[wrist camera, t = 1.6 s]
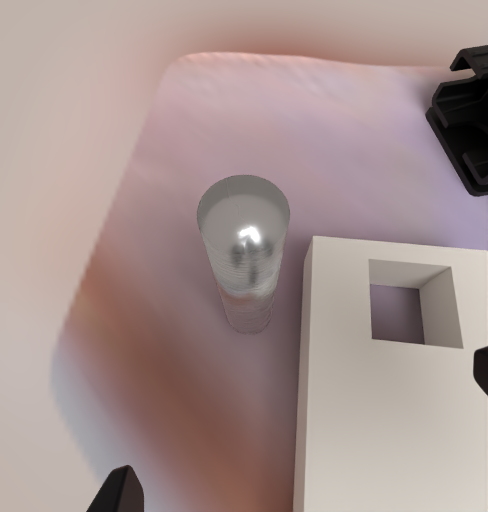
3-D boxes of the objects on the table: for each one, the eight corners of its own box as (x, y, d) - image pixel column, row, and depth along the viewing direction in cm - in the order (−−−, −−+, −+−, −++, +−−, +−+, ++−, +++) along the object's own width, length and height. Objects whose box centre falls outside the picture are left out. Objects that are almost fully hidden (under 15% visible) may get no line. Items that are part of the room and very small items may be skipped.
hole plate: (526, 637, 15) (610, 710, 12) (289, 598, 16) (299, 654, 13) (465, 276, 23) (505, 252, 19) (303, 261, 23) (313, 235, 20)
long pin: (269, 336, 21) (286, 259, 10) (223, 331, 22) (189, 249, 10) (272, 292, 23) (292, 178, 11) (229, 288, 23) (205, 171, 11)
